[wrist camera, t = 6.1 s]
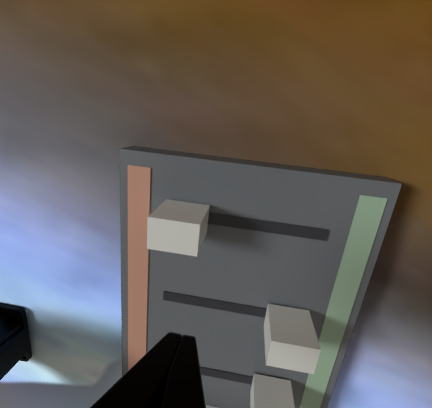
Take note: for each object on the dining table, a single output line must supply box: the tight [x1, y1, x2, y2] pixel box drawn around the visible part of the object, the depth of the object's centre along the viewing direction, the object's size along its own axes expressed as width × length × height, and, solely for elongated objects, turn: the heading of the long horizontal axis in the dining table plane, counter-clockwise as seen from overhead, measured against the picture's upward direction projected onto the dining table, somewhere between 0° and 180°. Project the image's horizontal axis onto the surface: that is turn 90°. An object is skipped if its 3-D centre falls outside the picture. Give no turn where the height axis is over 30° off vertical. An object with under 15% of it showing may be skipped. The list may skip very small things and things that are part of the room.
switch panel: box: [120, 146, 402, 408], centre depth 21 cm, size 18×22×2 cm
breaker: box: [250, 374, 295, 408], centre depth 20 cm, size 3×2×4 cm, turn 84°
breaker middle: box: [264, 304, 321, 374], centre depth 18 cm, size 3×2×4 cm, turn 84°
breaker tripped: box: [147, 199, 210, 257], centre depth 17 cm, size 3×2×4 cm, turn 84°
